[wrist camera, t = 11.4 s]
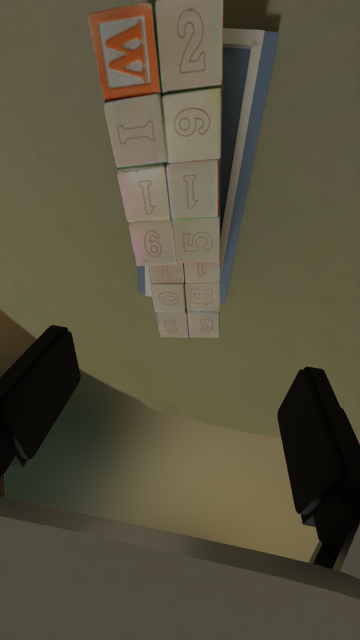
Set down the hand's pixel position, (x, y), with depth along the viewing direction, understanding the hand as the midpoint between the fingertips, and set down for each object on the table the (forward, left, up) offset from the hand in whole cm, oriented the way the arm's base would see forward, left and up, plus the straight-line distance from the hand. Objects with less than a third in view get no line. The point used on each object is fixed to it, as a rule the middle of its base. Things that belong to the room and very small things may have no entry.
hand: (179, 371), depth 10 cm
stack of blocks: (+2, -2, -22) cm, 22 cm away
